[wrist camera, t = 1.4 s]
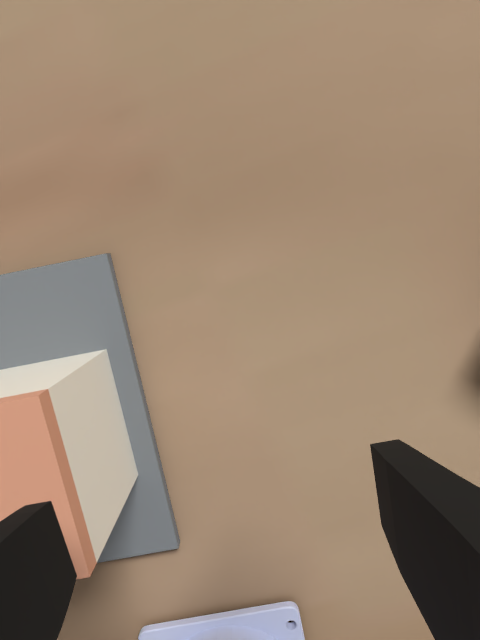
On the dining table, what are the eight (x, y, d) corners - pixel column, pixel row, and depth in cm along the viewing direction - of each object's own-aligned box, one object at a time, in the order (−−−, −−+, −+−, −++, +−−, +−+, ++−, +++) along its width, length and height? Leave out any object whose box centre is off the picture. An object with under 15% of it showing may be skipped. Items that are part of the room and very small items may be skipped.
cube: (138, 474, 19) (90, 577, 13) (12, 497, 19) (-94, 609, 13) (106, 349, 18) (38, 395, 12) (-26, 374, 18) (-159, 433, 12)
